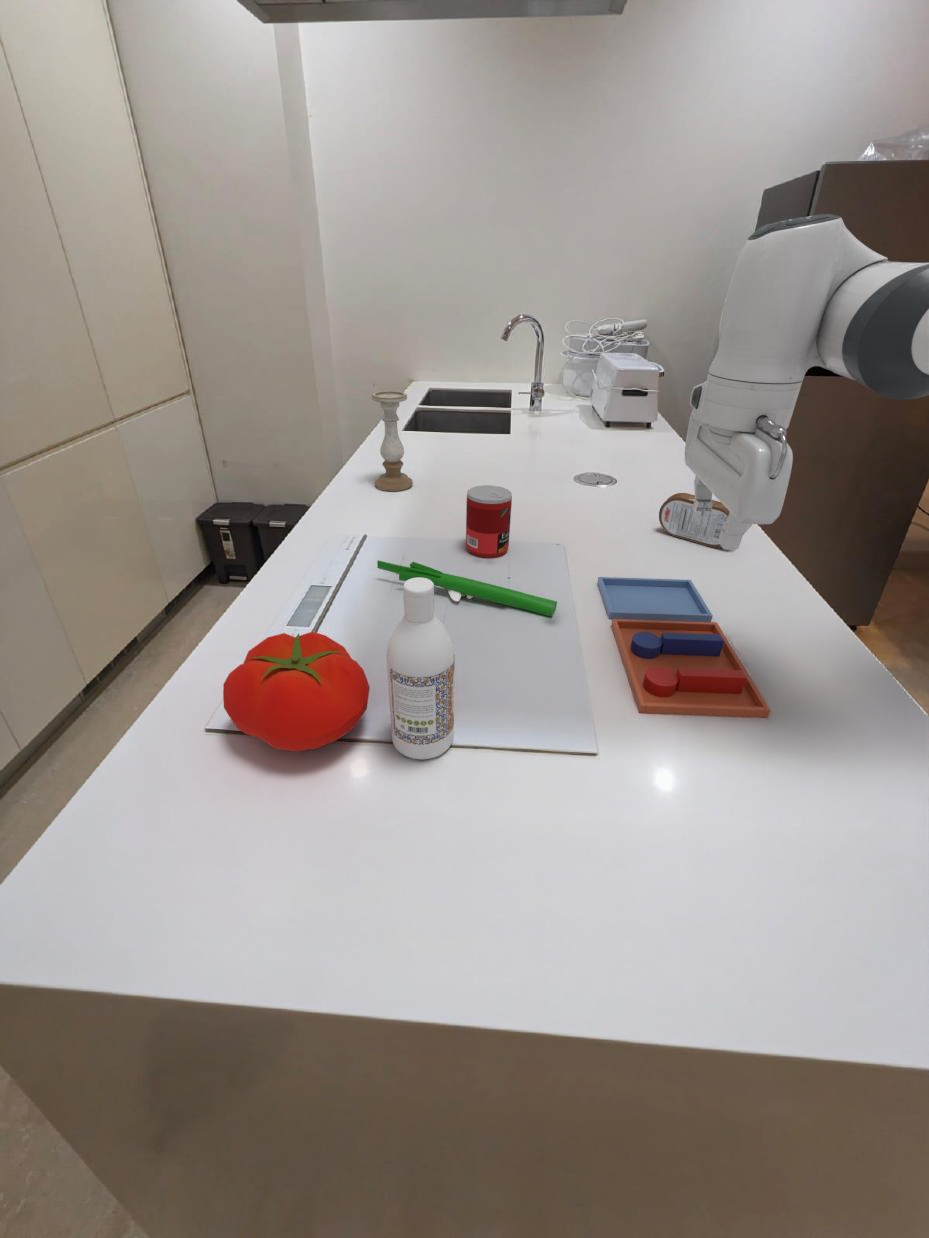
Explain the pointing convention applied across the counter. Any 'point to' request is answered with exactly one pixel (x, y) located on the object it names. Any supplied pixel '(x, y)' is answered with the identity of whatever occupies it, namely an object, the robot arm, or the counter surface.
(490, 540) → the canned food
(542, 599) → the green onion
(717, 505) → the tin
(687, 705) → the terracotta tray
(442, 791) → the counter surface
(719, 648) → the blue spoon
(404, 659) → the bath foam
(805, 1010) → the counter surface
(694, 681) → the red spoon
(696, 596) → the slate tray
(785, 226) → the robot arm
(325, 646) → the tomato
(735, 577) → the counter surface
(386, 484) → the candle holder
